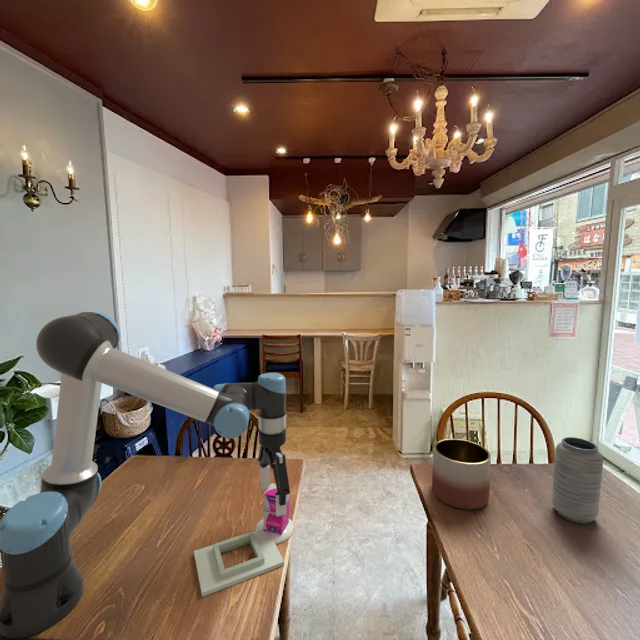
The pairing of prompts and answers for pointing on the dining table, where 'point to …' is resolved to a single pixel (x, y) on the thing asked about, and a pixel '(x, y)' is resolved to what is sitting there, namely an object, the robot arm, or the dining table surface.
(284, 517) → the supplement box
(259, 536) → the header board
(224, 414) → the robot arm
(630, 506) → the dining table surface
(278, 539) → the white egg-shaped stone
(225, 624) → the dining table surface
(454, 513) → the dining table surface
